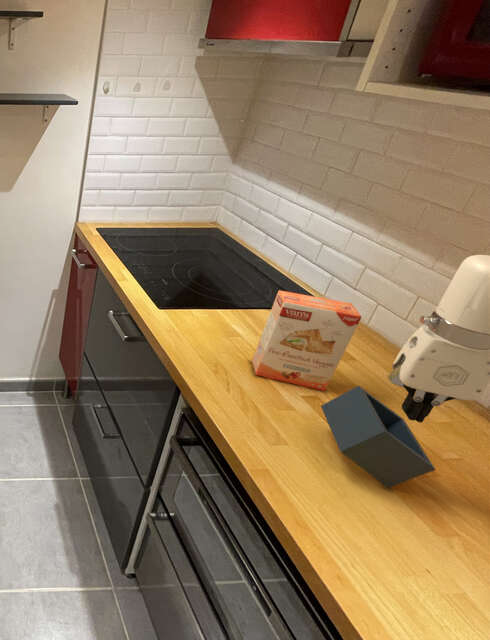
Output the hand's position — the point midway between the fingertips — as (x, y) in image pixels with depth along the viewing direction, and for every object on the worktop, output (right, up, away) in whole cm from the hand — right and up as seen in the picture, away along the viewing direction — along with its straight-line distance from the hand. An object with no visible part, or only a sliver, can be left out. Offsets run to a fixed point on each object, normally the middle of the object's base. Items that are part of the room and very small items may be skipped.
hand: (411, 415), depth 79 cm
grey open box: (+1, -8, +3) cm, 9 cm away
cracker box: (-2, -1, +27) cm, 27 cm away
